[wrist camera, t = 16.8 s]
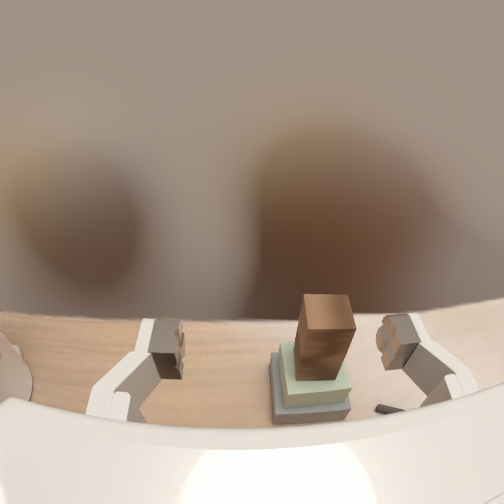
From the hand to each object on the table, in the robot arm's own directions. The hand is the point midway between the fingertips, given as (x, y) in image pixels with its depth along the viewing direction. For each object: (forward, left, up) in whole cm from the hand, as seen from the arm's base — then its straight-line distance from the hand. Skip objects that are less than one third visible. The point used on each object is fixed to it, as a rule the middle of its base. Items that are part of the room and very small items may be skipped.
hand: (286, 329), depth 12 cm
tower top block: (+8, +14, -28) cm, 33 cm away
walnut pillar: (+8, +14, -24) cm, 29 cm away
